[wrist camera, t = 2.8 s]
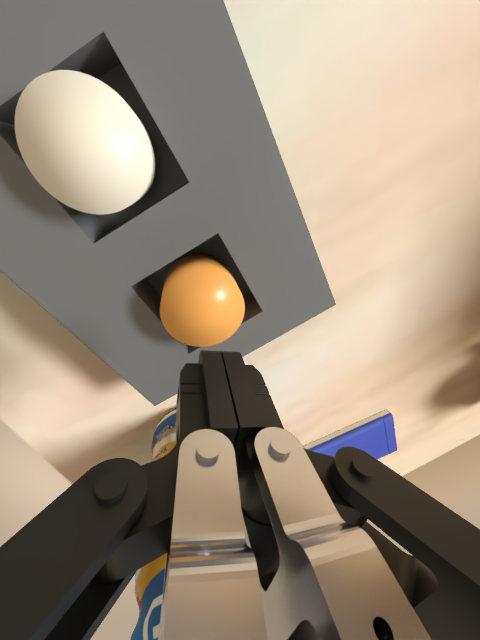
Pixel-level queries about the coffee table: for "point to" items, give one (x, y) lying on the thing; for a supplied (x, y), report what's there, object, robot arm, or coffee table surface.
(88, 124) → the cream button
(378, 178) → the coffee table surface
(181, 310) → the orange button
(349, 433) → the hard drive
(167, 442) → the beverage bottle
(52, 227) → the button panel
